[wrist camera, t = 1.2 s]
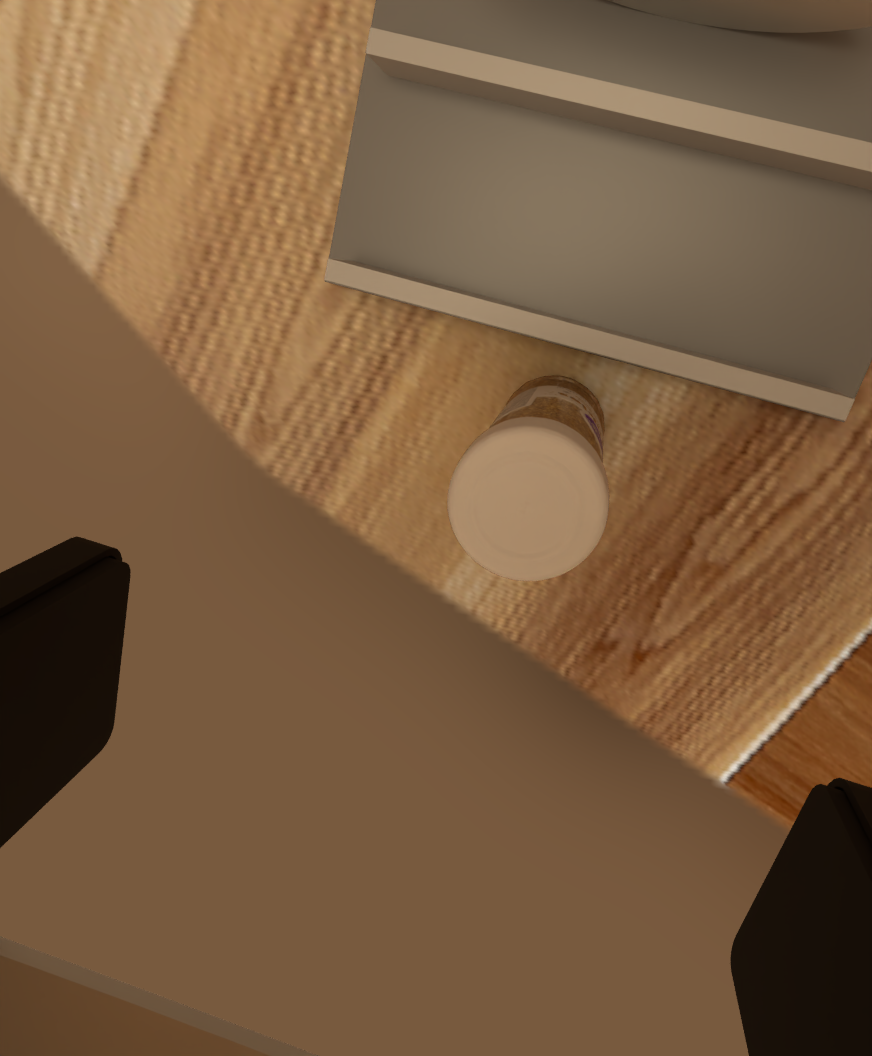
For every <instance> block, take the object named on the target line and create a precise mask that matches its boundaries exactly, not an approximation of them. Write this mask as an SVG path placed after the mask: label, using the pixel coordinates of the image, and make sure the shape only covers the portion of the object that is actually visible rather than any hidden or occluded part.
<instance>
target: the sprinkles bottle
mask: <svg viewBox="0 0 872 1056" xmlns="http://www.w3.org/2000/svg"><path fill="white" fill-rule="evenodd" d="M603 435H604V416H603V412H602V409H601V407H600V405H599V402H598V400H597V399H596V398H595V396H594V395H593V394H592V393H591V392H590V391H589V390H588V389H587V388H586V387H585V386H583V385H582V384H580V383H578V382H577V381H575V380H573V379H571V378H567V377H561V376H545V377H540V378H538V379H535V380H532V381H529V382H527V383H525V384H524V385H523V386H522V387H521V388H520V389H518V390H517V391H516V392H515V393H514V394H513V395H512V396H511V398H510V399H509V401H508V402H507V404H506V406H505V407H504V409H503V410H502V412H501V413H500V414H499V416H498V417H497V419H496V420H495V421H494V422H493V424H492V425H491V426H490V428H489V429H488V430H486V431H485V432H484V433H482V434H481V435H480V436H479V437H478V438H477V439H476V440H475V441H474V442H473V443H472V444H471V445H470V447H469V448H468V449H467V450H466V452H465V453H464V455H463V456H462V458H461V459H460V461H459V463H458V464H457V466H456V468H455V470H454V472H453V475H452V478H451V481H450V485H449V490H448V515H449V520H450V523H451V526H452V529H453V532H454V534H455V536H456V538H457V540H458V542H459V543H460V545H461V546H462V548H463V549H464V550H465V551H466V552H467V554H468V555H469V556H470V557H471V558H472V559H473V560H474V561H475V562H477V563H478V564H479V565H481V566H482V567H483V568H485V569H487V570H488V571H490V572H492V573H494V574H497V575H499V576H501V577H505V578H508V579H513V580H519V581H540V580H545V579H550V578H554V577H557V576H560V575H562V574H564V573H566V572H568V571H570V570H572V569H573V568H575V567H576V566H578V565H579V564H580V563H581V562H583V561H584V560H585V559H586V558H587V557H588V556H589V555H590V553H591V552H592V551H593V550H594V548H595V547H596V545H597V544H598V542H599V540H600V539H601V537H602V534H603V532H604V529H605V526H606V522H607V517H608V509H609V487H608V479H607V475H606V471H605V468H604V466H603Z"/></svg>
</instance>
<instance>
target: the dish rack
mask: <svg viewBox="0 0 872 1056" xmlns="http://www.w3.org/2000/svg"><path fill="white" fill-rule="evenodd" d="M324 280H325V282H329V283H332V284H336V285H340V286H343V287H347V288H351V289H355V290H358V291H362V292H366V293H369V294H373V295H377V296H380V297H384V298H388V299H391V300H395V301H399V302H403V303H406V304H410V305H414V306H417V307H421V308H425V309H428V310H432V311H436V312H439V313H443V314H447V315H450V316H454V317H458V318H462V319H465V320H469V321H473V322H476V323H480V324H484V325H487V326H491V327H495V328H498V329H502V330H506V331H510V332H513V333H517V334H521V335H524V336H528V337H532V338H535V339H539V340H543V341H546V342H550V343H554V344H557V345H561V346H565V347H569V348H572V349H576V350H580V351H583V352H587V353H591V354H594V355H598V356H602V357H605V358H609V359H613V360H616V361H620V362H624V363H628V364H631V365H635V366H639V367H642V368H646V369H650V370H653V371H657V372H661V373H664V374H668V375H672V376H676V377H679V378H683V379H687V380H690V381H694V382H698V383H701V384H705V385H709V386H712V387H716V388H720V389H723V390H727V391H731V392H735V393H738V394H742V395H746V396H749V397H753V398H757V399H760V400H764V401H768V402H771V403H775V404H779V405H783V406H786V407H790V408H794V409H797V410H801V411H805V412H808V413H812V414H816V415H819V416H823V417H827V418H830V419H834V420H838V421H842V422H845V421H846V418H847V416H848V414H849V412H850V409H851V407H852V405H853V403H854V400H855V397H856V394H857V392H858V390H859V388H860V385H861V383H862V381H863V379H864V376H865V374H866V372H867V370H868V367H869V365H870V363H871V361H872V0H376V3H375V8H374V14H373V19H372V25H371V27H370V32H369V37H368V43H367V48H366V58H365V63H364V69H363V74H362V80H361V85H360V90H359V96H358V101H357V107H356V112H355V118H354V123H353V129H352V134H351V140H350V145H349V151H348V156H347V162H346V167H345V173H344V178H343V184H342V189H341V195H340V200H339V206H338V211H337V217H336V222H335V228H334V233H333V239H332V244H331V250H330V255H329V258H328V262H327V268H326V273H325V279H324Z"/></svg>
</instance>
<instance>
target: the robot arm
mask: <svg viewBox="0 0 872 1056" xmlns="http://www.w3.org/2000/svg"><path fill="white" fill-rule="evenodd" d="M129 583H130V567H129V565H128V564H127V563H125V562H122V557H121V554H120V552H119V551H118V549H115V548H112V547H109V546H106V545H103V544H100V543H97V542H94V541H90V540H87V539H84V538H81V537H74V538H71V539H69V540H66V541H65V542H62V543H60V544H58V545H56V546H54V547H52V548H50V549H48V550H46V551H44V552H42V553H40V554H38V555H36V556H34V557H32V558H30V559H28V560H26V561H24V562H22V563H20V564H18V565H16V566H14V567H12V568H10V569H8V570H6V571H4V572H1V573H0V848H1V847H2V846H3V845H4V844H5V843H6V842H7V841H8V840H9V839H10V838H11V837H12V836H13V835H14V834H15V833H16V832H17V831H18V830H19V829H20V828H22V827H23V826H24V825H25V824H26V823H27V822H28V820H30V819H31V818H32V817H33V816H34V815H35V814H36V813H37V812H38V811H39V810H40V809H41V808H42V807H43V806H44V805H45V804H46V803H48V802H49V801H50V800H51V799H52V798H53V797H54V796H55V795H56V794H57V793H58V792H59V791H60V790H61V789H62V788H63V787H64V786H65V785H66V784H67V783H68V782H69V781H70V780H71V779H72V778H74V777H75V776H76V775H77V774H78V773H79V772H80V771H81V770H82V769H83V768H84V767H85V766H86V765H87V764H88V763H89V762H90V761H91V760H92V759H93V758H94V757H95V756H96V755H97V754H98V753H99V752H100V751H101V750H102V749H103V748H104V746H105V745H106V743H107V742H108V740H109V738H110V736H111V733H112V730H113V726H114V720H115V710H116V701H117V693H118V683H119V674H120V665H121V656H122V647H123V638H124V628H125V620H126V610H127V601H128V592H129ZM731 972H732V976H733V981H734V986H735V991H736V996H737V1000H738V1005H739V1009H740V1014H741V1019H742V1024H743V1029H744V1033H745V1038H746V1043H747V1048H748V1053H749V1056H872V788H870V787H867V786H864V785H861V784H857V783H854V782H851V781H848V780H845V779H842V778H837V779H834V780H833V781H831V782H830V783H829V784H828V786H826V785H822V784H819V785H816V786H815V787H814V788H813V789H812V791H811V792H810V794H809V796H808V797H807V799H806V801H805V803H804V805H803V807H802V809H801V811H800V813H799V815H798V817H797V819H796V821H795V823H794V825H793V826H792V828H791V830H790V832H789V834H788V836H787V838H786V840H785V842H784V844H783V846H782V848H781V850H780V852H779V854H778V855H777V857H776V859H775V861H774V863H773V865H772V867H771V869H770V871H769V873H768V875H767V877H766V879H765V881H764V883H763V885H762V886H761V888H760V890H759V892H758V894H757V896H756V898H755V900H754V902H753V904H752V906H751V908H750V910H749V912H748V913H747V916H746V917H745V919H744V921H743V923H742V925H741V927H740V929H739V931H738V933H737V935H736V937H735V939H734V942H733V946H732V951H731ZM0 1056H318V1055H316V1054H313V1053H310V1052H307V1051H305V1050H302V1049H300V1048H297V1047H294V1046H292V1045H289V1044H286V1043H283V1042H281V1041H278V1040H276V1039H273V1038H271V1037H268V1036H265V1035H262V1034H260V1033H257V1032H255V1031H252V1030H249V1029H247V1028H244V1027H241V1026H239V1025H236V1024H233V1023H231V1022H228V1021H226V1020H223V1019H220V1018H218V1017H215V1016H212V1015H210V1014H207V1013H204V1012H202V1011H199V1010H196V1009H194V1008H191V1007H188V1006H186V1005H183V1004H180V1003H178V1002H175V1001H173V1000H170V999H167V998H164V997H162V996H159V995H157V994H154V993H151V992H148V991H145V990H143V989H140V988H138V987H135V986H132V985H130V984H127V983H124V982H121V981H119V980H116V979H113V978H111V977H108V976H105V975H102V974H100V973H97V972H95V971H92V970H89V969H87V968H84V967H81V966H79V965H76V964H73V963H70V962H67V961H65V960H62V959H59V958H57V957H54V956H51V955H49V954H46V953H43V952H41V951H38V950H35V949H33V948H30V947H27V946H25V945H22V944H19V943H16V942H14V941H11V940H8V939H6V938H3V937H0Z"/></svg>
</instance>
